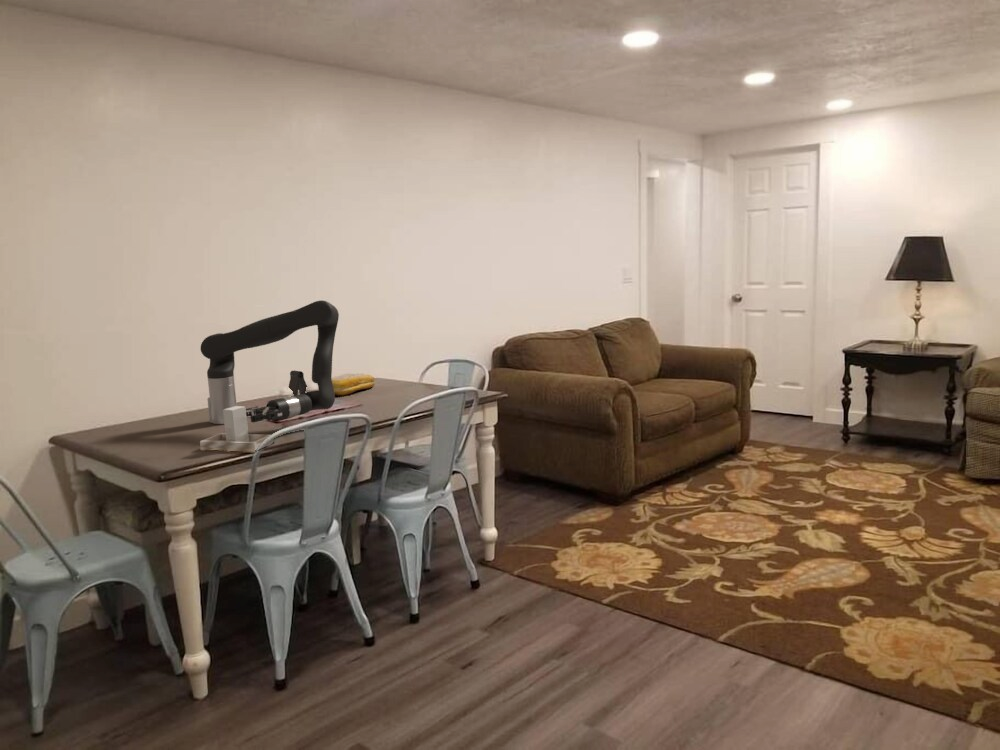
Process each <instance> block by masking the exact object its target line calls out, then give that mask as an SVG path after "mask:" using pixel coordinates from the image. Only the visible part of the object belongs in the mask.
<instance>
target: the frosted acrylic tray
mask: <svg viewBox="0 0 1000 750" xmlns="http://www.w3.org/2000/svg"><path fill="white" fill-rule="evenodd" d="M248 434H249V442H235V441H226V433H225V432H220V433H217V434H215V435H212V436H210V437H207V438H204V439H201V440H200V441H199V444H200V445H199V447H200V451H205V450H224V451H223V452H230V451H243V452H242V453H256V452H255V450H256V449H257V448H258V446H259V445H260V444H261V443H262V442H263V441H264V440H265V439H266V438H267V437H269V436H270V435H271V434H261V433H248ZM225 450H227V451H225Z"/></svg>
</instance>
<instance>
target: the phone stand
mask: <svg viewBox="0 0 1000 750" xmlns="http://www.w3.org/2000/svg"><path fill="white" fill-rule="evenodd" d="M289 375H290V377H289V382H288V387H289V388H290V389H291V390H292V391H293V394H294V396H296V395H301V394H304V393H305V391H306V387H308V385H307V382H306V381H305V378H304V372H303V371H300V370H295V369H294V370H291V371H290V373H289ZM298 393H299V394H298Z"/></svg>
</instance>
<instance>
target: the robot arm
mask: <svg viewBox="0 0 1000 750" xmlns="http://www.w3.org/2000/svg"><path fill="white" fill-rule="evenodd" d="M339 316H340V315H339V310H338V309H337V308H336V306H335V305H333V304H332V303H330V302H329V301H327V300H317V301H314V302H311V303H309V304H306V305H305V306H301V307H299V308H297V309H294V310H291V311H287V312H284V313H280V314H277V315H273V316H270V317H265V318H262V319H259V320H258V321H253V322H252V323H249V324H247V325H244V326H243V327H240V328H239V329H235V330H233V331H229V332H225V333H222V332H220V333H215V334H211V335H208V336H207V337H205V338H204V339H203V340H202V342H201V343H200V352H201V354H202V356H203V357H205V358H206V359H209V367H208V369H207V371H206V374H207V384H208V385H207V386H208V393H209V395H208V396H209V397H208V398H207V406H208V407H207V408H208V417H209V423H210V424H213V425H225V424H224V415H223V410H224V409H227V408H231V407H234V406H238V405H237V395H236V394H237V393H236V385H235V376H234V374H235V373H234V371H235V366H236V365H235V353H236V352H238V351H241V350H247V349H252V348H253V349H254V348H257V347H262V346H266V345H270V344H273V343H277V342H279V341H282V340H284V339H286V338H288V337H289V336H291V335H292V334H293V333H295V332H297V331H299V330H302V329H305V328H308V327H313V326H317V343H316V346H315V349H314V354H313V357H312V363H311V380H312V382H313V383H314V384H316V385H317V387H318V390H311V391H310V390H309V392H307V393H304V394H301V395H300V394H298V395H296V396H291V397H286V396H284V397H281V398H279V397H278V398H274V399H272V400H271V399H270V400H268V401H267V404H266V406H265V405H263V406H253V407H249V408H246V416H247V419H249V418H250V422H251V423H253V424H254V423H258V422H262V421H263V422H265V421H266V422H270V421H272V422H274V423H275V422H276V423H277V422H280V421H284V420H288V419H291V418H294V417H297V416H301V415H304V414H307V413H309V412H311V411H318V410H319V411H320V410H328V409H331V408H332V407H333V405H334V403H335V399H336V395H335V393H334V388H333V384H332V380H331V378H332V373H333V351H334V345H335V344H334V343H335V337H336V334H337V333H336V332H337V327H338V322H339V318H340V317H339Z"/></svg>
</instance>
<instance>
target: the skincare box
mask: <svg viewBox="0 0 1000 750" xmlns="http://www.w3.org/2000/svg"><path fill="white" fill-rule="evenodd" d="M246 409H247V408H246V406H243V405H242V406H241V405H237V406H234V407H231V408H227V409H224V410H223V415H224V424H223V425H224V430H225V432H224V433H226V441H235V442H249V434H250V433H249V427H248V426H249V425H248V418H247V416H246Z"/></svg>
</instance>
